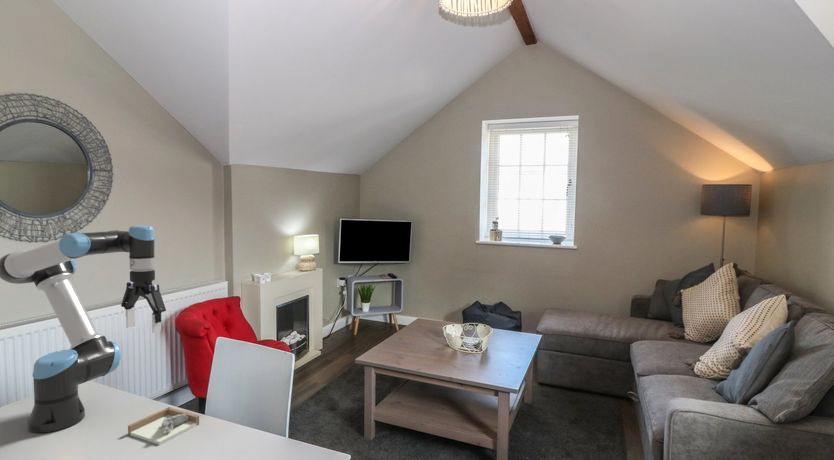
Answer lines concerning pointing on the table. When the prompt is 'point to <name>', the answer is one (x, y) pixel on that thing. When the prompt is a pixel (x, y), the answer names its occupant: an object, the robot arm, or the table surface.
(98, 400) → the table surface
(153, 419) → the corner
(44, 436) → the table surface
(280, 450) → the table surface
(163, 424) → the stone
